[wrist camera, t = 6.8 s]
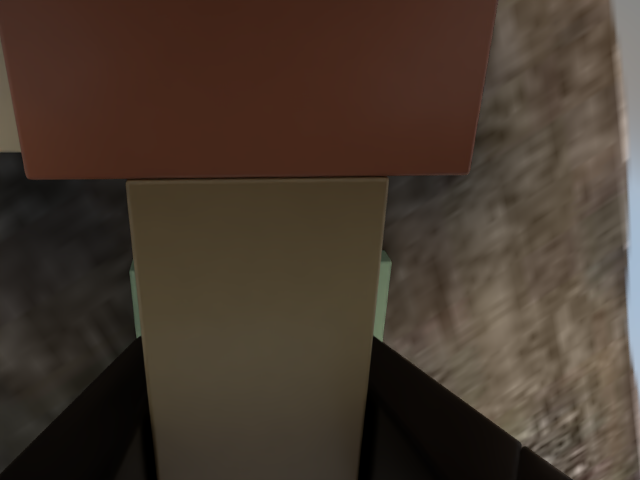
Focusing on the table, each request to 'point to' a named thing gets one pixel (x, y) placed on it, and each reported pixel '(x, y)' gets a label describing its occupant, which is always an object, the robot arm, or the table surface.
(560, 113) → the table surface
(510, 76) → the table surface
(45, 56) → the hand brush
